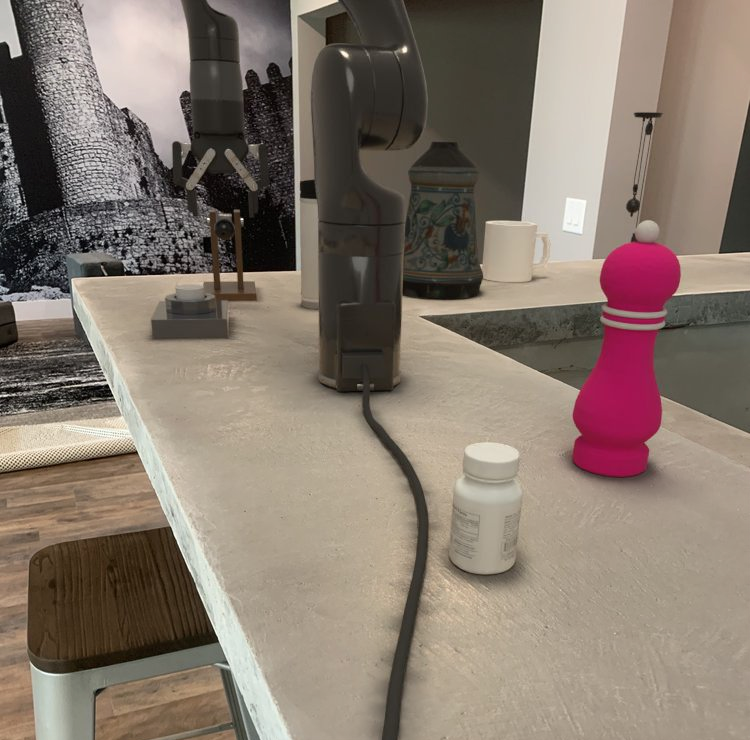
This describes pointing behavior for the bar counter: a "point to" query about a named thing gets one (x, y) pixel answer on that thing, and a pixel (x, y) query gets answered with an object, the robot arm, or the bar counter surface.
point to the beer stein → (441, 226)
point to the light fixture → (633, 203)
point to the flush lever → (224, 227)
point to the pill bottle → (486, 509)
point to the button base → (190, 318)
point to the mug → (512, 251)
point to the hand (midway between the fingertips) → (223, 216)
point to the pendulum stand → (237, 288)
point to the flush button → (190, 292)
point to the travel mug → (309, 245)
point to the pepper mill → (626, 359)
